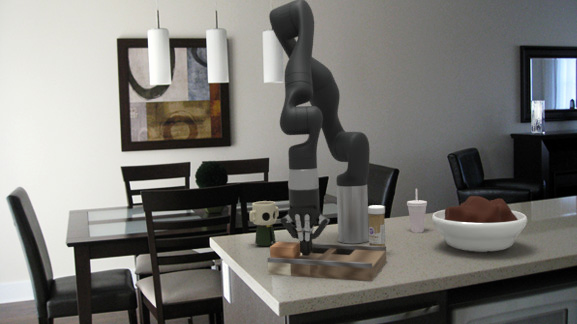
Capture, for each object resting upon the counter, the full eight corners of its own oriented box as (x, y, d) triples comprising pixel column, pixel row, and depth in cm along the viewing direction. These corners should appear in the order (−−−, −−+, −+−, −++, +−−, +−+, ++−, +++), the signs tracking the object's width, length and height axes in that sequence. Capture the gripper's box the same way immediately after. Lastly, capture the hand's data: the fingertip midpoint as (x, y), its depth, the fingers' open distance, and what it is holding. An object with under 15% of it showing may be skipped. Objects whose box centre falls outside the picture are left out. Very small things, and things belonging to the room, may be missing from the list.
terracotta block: (300, 255, 148) (299, 242, 147) (293, 261, 142) (292, 247, 142) (278, 254, 149) (277, 241, 149) (270, 260, 144) (269, 246, 144)
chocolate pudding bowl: (414, 245, 167) (413, 193, 166) (484, 235, 176) (484, 186, 175) (471, 264, 144) (470, 205, 143) (548, 252, 153) (548, 196, 152)
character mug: (258, 250, 168) (256, 206, 167) (244, 246, 174) (242, 204, 173) (286, 243, 175) (285, 201, 174) (272, 240, 181) (270, 199, 180)
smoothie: (405, 233, 184) (404, 189, 183) (409, 229, 190) (408, 186, 189) (426, 233, 182) (425, 189, 181) (429, 229, 188) (428, 187, 187)
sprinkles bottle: (365, 255, 158) (364, 206, 156) (374, 251, 161) (373, 204, 160) (380, 257, 155) (379, 207, 154) (389, 253, 158) (387, 205, 157)
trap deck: (386, 261, 150) (386, 246, 150) (371, 281, 133) (371, 264, 133) (292, 256, 159) (292, 242, 159) (268, 274, 143) (267, 258, 142)
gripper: (333, 184, 145) (335, 252, 146) (284, 184, 149) (286, 250, 151) (324, 188, 138) (327, 260, 139) (273, 188, 142) (276, 257, 144)
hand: (306, 254), depth 145 cm, fingers closed
